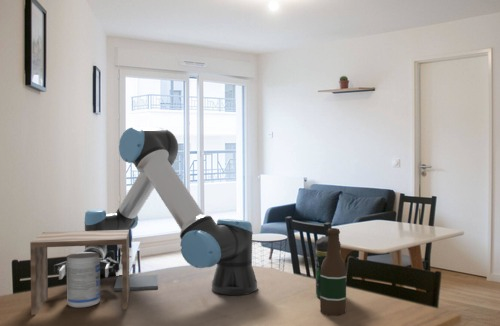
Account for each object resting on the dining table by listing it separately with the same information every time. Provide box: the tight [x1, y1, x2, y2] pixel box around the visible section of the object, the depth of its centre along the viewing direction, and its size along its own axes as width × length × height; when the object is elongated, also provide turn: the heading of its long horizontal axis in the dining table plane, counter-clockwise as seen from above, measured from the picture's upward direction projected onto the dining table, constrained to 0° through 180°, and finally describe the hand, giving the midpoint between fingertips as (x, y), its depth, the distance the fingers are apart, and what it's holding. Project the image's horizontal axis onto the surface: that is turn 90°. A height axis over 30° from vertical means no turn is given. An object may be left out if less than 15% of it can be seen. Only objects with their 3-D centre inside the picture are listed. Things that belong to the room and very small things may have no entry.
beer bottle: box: [319, 227, 347, 317], centre depth 140 cm, size 8×8×24 cm
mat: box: [113, 274, 159, 292], centre depth 168 cm, size 14×14×1 cm
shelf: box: [29, 230, 130, 316], centre depth 147 cm, size 16×26×20 cm, turn 101°
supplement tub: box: [65, 251, 101, 309], centre depth 147 cm, size 10×10×15 cm
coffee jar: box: [315, 236, 342, 298], centre depth 155 cm, size 10×8×19 cm
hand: (83, 273), depth 151 cm, fingers open, 13 cm apart
